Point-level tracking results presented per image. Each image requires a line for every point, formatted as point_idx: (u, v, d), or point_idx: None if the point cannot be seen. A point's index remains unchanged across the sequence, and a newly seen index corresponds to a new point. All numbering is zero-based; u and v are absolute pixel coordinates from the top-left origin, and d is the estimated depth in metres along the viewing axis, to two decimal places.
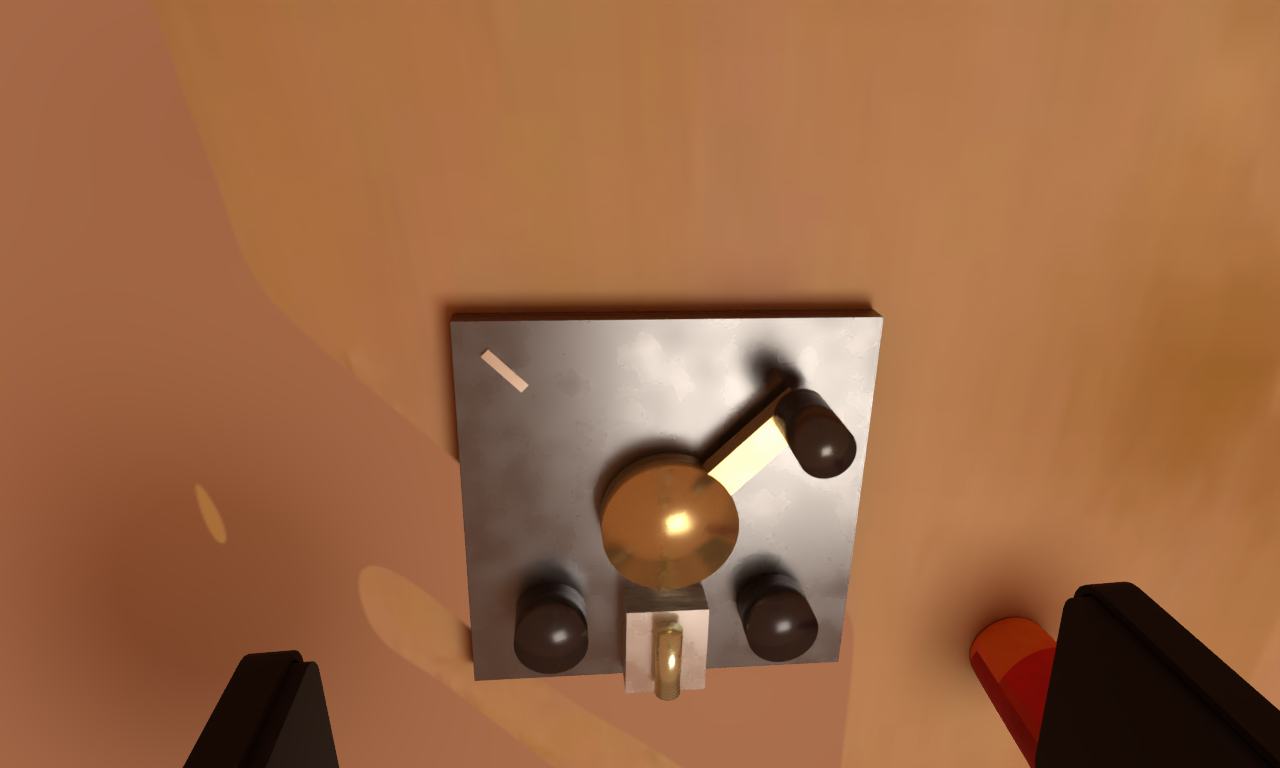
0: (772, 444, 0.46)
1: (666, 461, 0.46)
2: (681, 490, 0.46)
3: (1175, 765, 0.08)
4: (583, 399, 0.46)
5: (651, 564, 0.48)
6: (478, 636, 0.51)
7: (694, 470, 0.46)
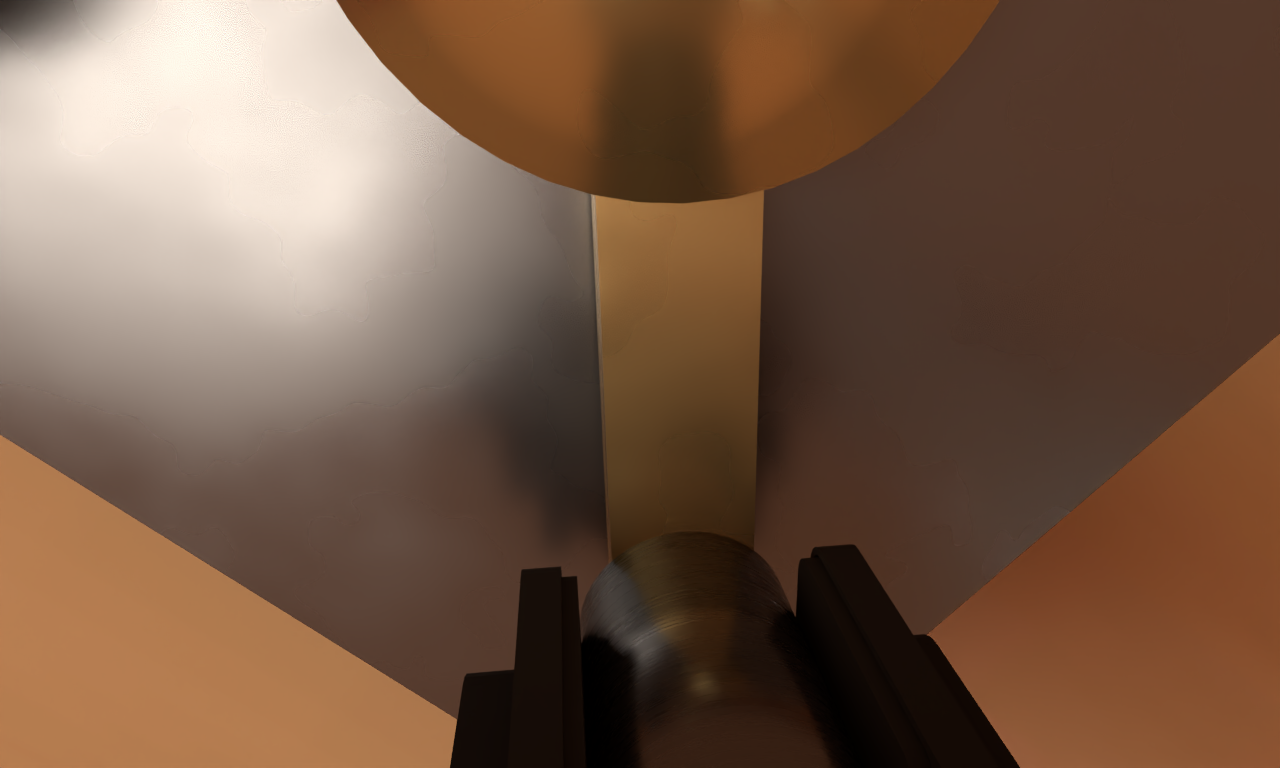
0: (660, 479, 0.11)
1: None
2: (819, 31, 0.09)
3: (847, 701, 0.09)
4: None
5: None
6: None
7: (836, 156, 0.09)
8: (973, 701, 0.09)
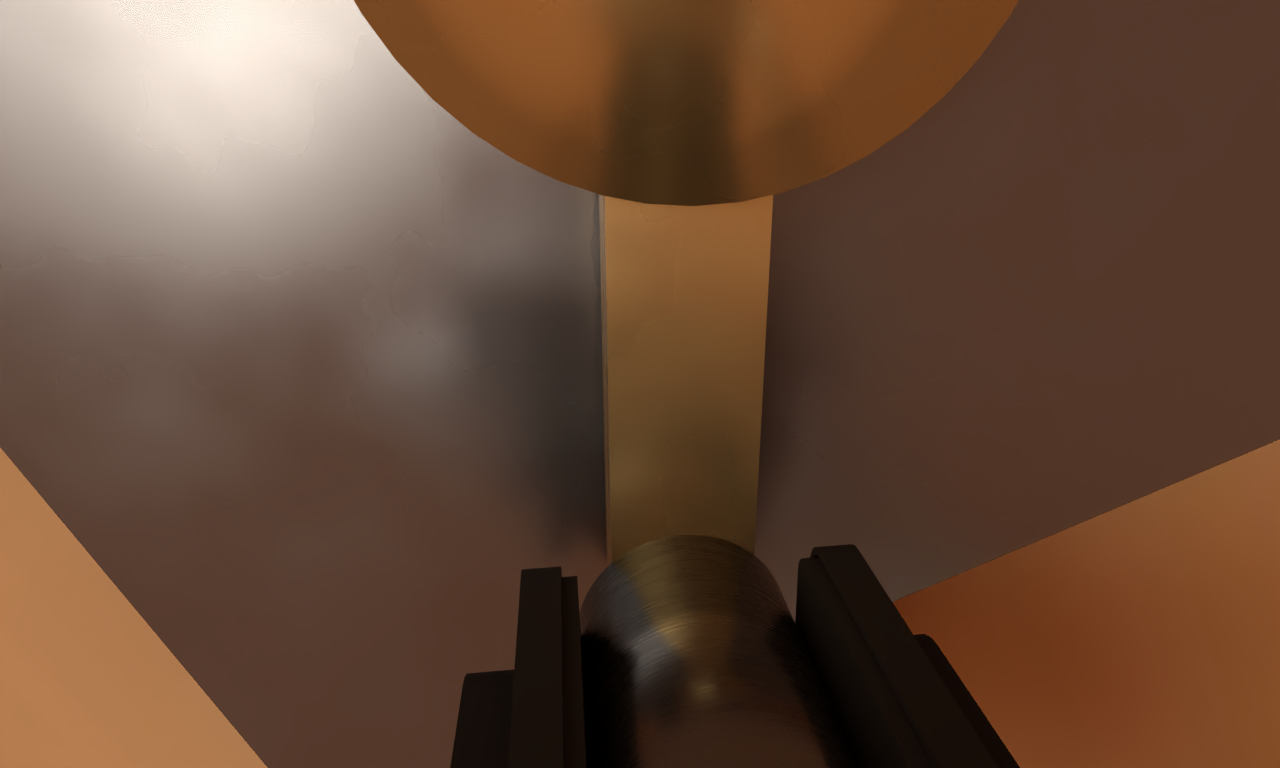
0: (662, 482, 0.11)
1: None
2: (832, 36, 0.09)
3: (847, 701, 0.09)
4: (1151, 228, 0.12)
5: None
6: None
7: (846, 162, 0.09)
8: (973, 701, 0.09)
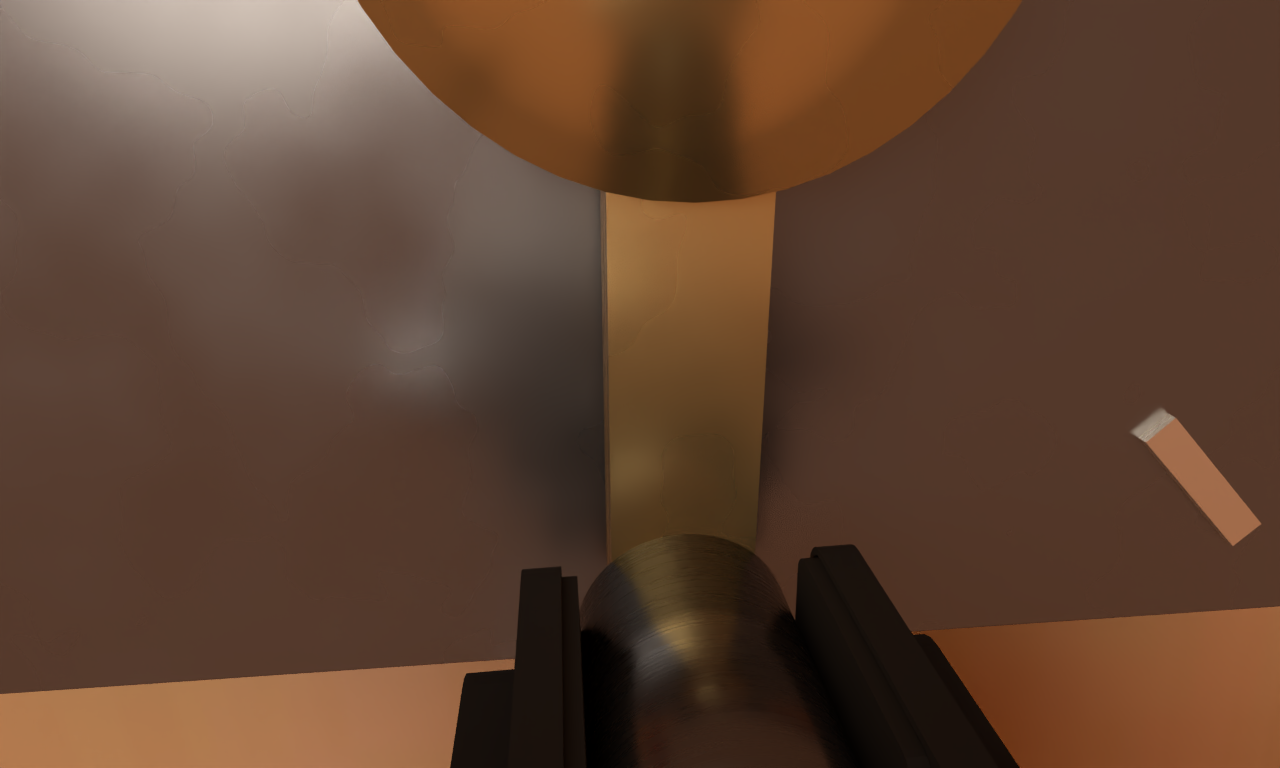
0: (662, 480, 0.11)
1: None
2: (836, 32, 0.09)
3: (846, 702, 0.09)
4: (973, 388, 0.13)
5: None
6: None
7: None
8: (973, 701, 0.09)
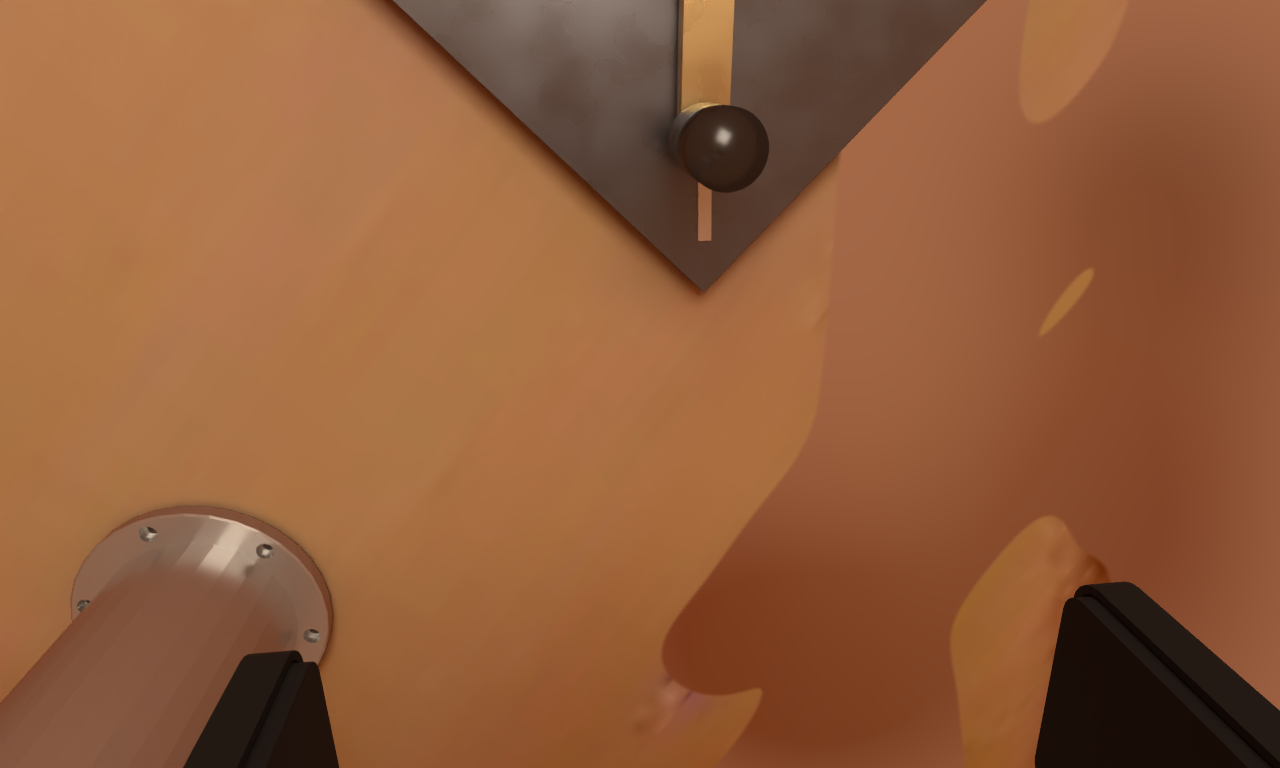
0: (699, 80, 0.33)
1: None
2: None
3: (1175, 765, 0.08)
4: (664, 106, 0.35)
5: None
6: None
7: None
8: None
